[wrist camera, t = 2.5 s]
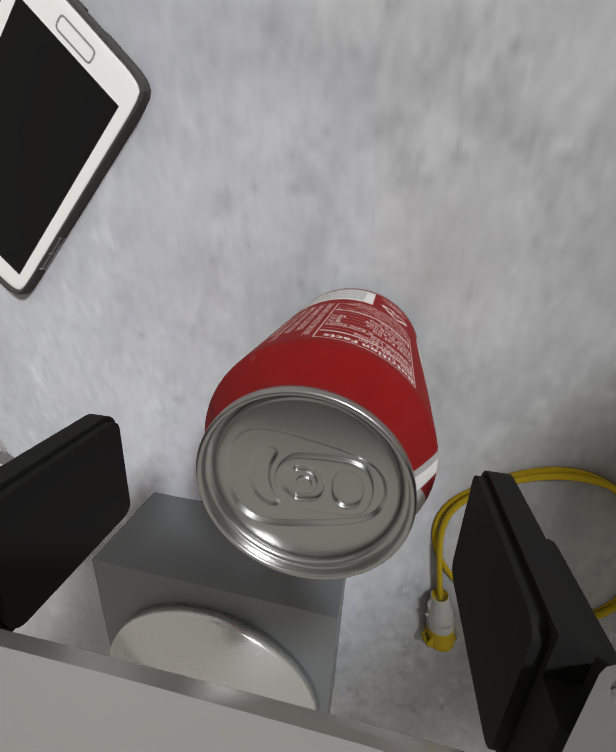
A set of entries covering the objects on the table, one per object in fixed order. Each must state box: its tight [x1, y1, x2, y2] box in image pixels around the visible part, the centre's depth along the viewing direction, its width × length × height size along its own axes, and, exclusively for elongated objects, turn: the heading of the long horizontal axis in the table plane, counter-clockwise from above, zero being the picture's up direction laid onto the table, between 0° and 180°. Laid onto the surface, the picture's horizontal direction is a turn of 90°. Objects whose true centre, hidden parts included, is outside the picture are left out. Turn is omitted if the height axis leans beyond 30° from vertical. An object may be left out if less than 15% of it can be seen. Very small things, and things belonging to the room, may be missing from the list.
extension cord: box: [421, 467, 616, 652], centre depth 22 cm, size 12×16×2 cm
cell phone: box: [0, 0, 151, 294], centre depth 20 cm, size 8×15×1 cm, turn 133°
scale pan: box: [110, 603, 319, 711], centre depth 23 cm, size 13×13×1 cm
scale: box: [92, 493, 346, 714], centre depth 26 cm, size 14×17×6 cm
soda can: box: [196, 288, 438, 579], centre depth 15 cm, size 7×7×12 cm
